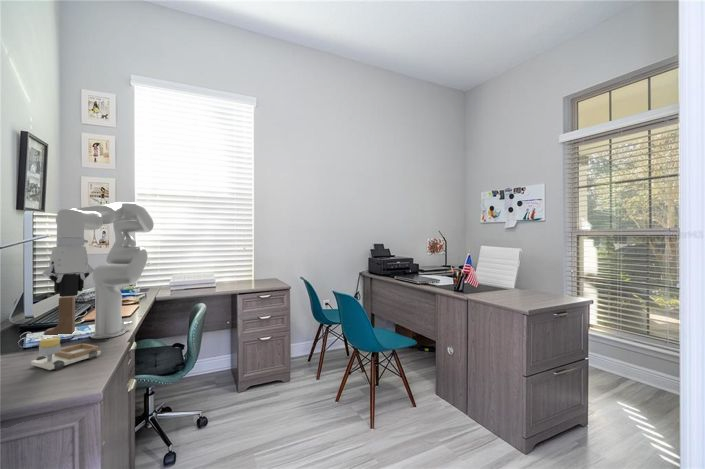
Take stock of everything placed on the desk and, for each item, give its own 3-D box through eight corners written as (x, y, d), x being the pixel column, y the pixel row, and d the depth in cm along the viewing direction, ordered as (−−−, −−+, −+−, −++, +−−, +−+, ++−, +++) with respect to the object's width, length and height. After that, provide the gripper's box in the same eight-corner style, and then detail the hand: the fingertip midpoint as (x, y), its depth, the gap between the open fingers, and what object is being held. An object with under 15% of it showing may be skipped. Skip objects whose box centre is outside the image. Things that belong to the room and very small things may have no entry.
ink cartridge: (77, 294, 120) (79, 273, 120) (77, 295, 118) (78, 274, 118) (60, 295, 117) (61, 274, 117) (59, 296, 115) (60, 274, 115)
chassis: (82, 352, 122) (82, 338, 122) (100, 356, 118) (100, 342, 118) (30, 367, 108) (31, 352, 108) (49, 372, 104) (50, 357, 104)
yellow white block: (54, 349, 111) (54, 336, 111) (63, 351, 109) (63, 338, 109) (36, 354, 107) (36, 340, 107) (44, 356, 105) (44, 342, 105)
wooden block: (43, 342, 132) (44, 299, 132) (47, 339, 136) (48, 297, 136) (71, 339, 136) (72, 297, 136) (75, 336, 140) (75, 295, 140)
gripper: (91, 242, 127) (90, 288, 127) (34, 242, 111) (33, 294, 111) (102, 242, 124) (101, 289, 124) (45, 242, 108) (44, 296, 108)
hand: (69, 291), depth 117 cm, fingers closed on ink cartridge, 5 cm apart
